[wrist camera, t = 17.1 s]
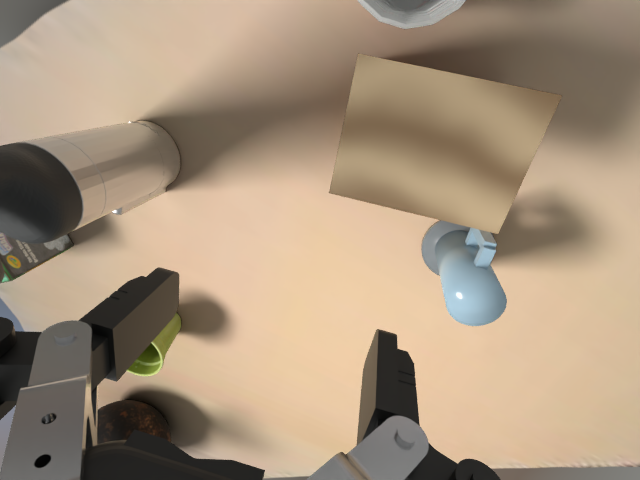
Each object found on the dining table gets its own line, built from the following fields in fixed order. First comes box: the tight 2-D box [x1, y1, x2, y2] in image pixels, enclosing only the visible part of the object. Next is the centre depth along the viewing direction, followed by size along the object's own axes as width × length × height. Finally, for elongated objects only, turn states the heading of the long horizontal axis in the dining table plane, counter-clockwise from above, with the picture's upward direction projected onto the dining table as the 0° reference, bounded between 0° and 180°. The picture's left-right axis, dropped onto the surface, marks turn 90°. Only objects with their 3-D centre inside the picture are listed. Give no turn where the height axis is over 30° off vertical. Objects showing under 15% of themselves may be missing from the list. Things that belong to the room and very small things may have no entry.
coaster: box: [422, 220, 495, 276], centre depth 46 cm, size 9×9×1 cm
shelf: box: [329, 54, 562, 234], centre depth 34 cm, size 11×14×15 cm
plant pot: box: [127, 313, 181, 376], centre depth 58 cm, size 9×9×9 cm
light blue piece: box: [435, 228, 507, 326], centre depth 40 cm, size 8×6×12 cm
